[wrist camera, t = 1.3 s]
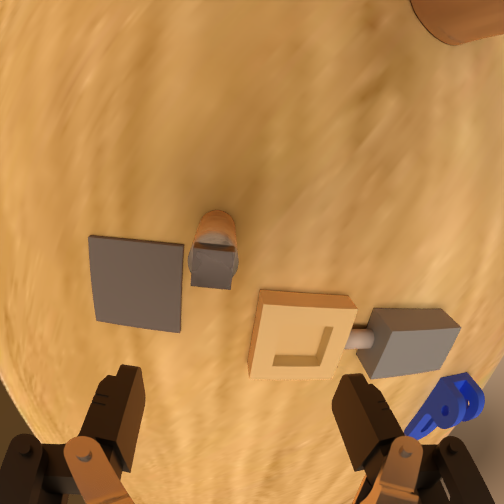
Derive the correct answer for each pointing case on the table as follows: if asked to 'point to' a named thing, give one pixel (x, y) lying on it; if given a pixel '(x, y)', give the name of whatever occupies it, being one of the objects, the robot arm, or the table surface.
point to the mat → (137, 282)
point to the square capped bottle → (214, 252)
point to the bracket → (447, 405)
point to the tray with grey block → (343, 338)
